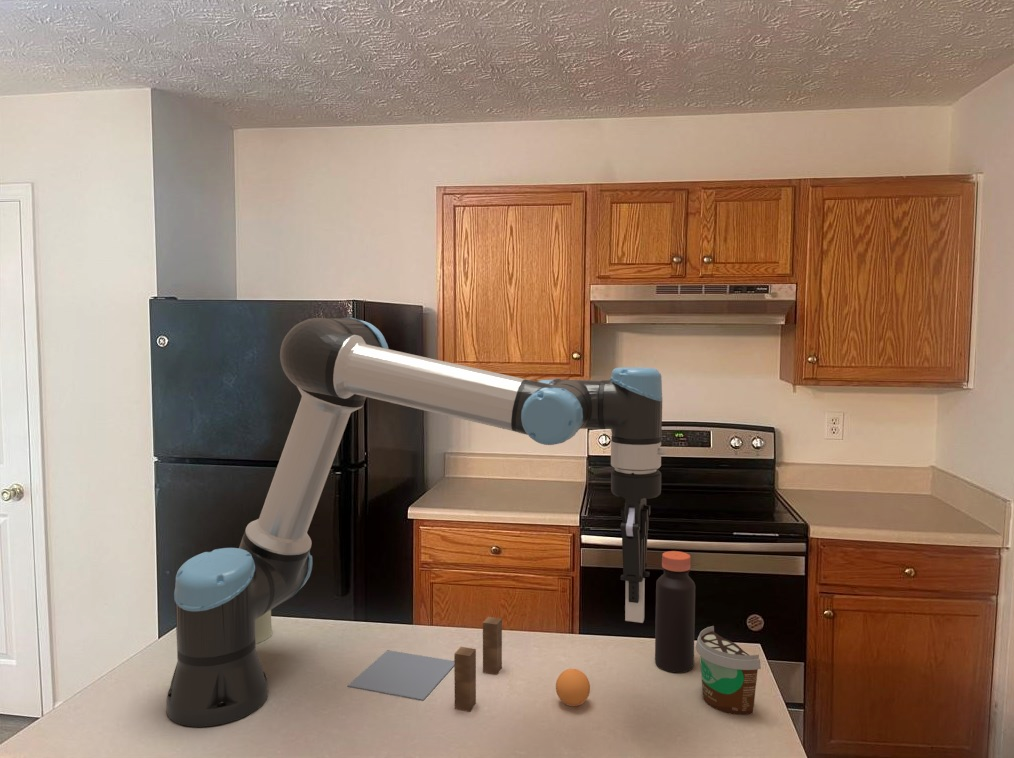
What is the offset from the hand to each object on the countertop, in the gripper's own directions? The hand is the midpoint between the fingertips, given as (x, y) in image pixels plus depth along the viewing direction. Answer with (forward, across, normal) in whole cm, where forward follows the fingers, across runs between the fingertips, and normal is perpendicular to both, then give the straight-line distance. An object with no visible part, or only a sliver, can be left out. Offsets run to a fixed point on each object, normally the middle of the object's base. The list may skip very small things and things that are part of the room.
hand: (634, 619), depth 111 cm
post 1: (+15, -6, +26) cm, 31 cm away
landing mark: (+15, 0, +40) cm, 42 cm away
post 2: (+15, +6, +26) cm, 31 cm away
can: (+15, +4, +76) cm, 77 cm away
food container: (+16, +8, -12) cm, 21 cm away
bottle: (+15, +19, -4) cm, 25 cm away
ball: (+12, 0, +10) cm, 16 cm away
